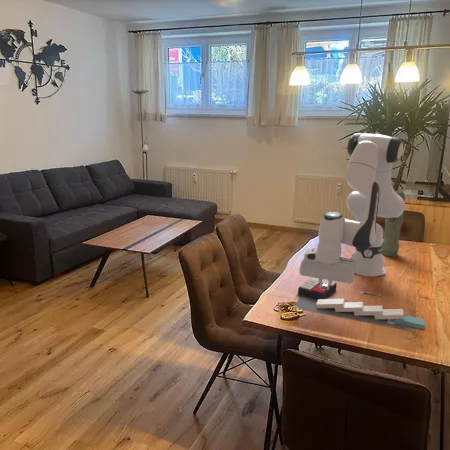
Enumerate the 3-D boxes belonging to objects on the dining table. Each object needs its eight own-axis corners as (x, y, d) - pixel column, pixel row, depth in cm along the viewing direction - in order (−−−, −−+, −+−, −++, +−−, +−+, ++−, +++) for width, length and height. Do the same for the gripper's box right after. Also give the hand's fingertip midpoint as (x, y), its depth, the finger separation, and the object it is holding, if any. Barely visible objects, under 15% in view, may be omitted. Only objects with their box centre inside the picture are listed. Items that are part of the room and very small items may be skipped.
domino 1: (316, 304, 162) (342, 303, 158) (318, 299, 166) (344, 298, 163) (316, 308, 162) (343, 307, 158) (318, 303, 167) (344, 302, 163)
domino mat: (299, 297, 173) (299, 295, 172) (410, 318, 159) (410, 316, 159) (294, 309, 162) (294, 307, 162) (412, 333, 148) (412, 330, 148)
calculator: (298, 285, 173) (313, 275, 185) (297, 295, 174) (312, 284, 186) (323, 292, 167) (337, 281, 179) (322, 302, 168) (336, 290, 180)
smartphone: (395, 308, 167) (395, 306, 167) (356, 299, 175) (356, 297, 174) (398, 302, 173) (398, 300, 173) (360, 293, 181) (360, 291, 180)
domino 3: (353, 311, 157) (382, 311, 154) (354, 306, 162) (382, 305, 158) (354, 315, 158) (382, 315, 154) (355, 309, 162) (382, 309, 158)
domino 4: (374, 315, 155) (403, 314, 151) (374, 309, 160) (403, 308, 156) (374, 319, 155) (404, 318, 151) (375, 313, 160) (403, 312, 156)
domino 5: (394, 319, 153) (424, 325, 149) (394, 313, 157) (423, 319, 154) (394, 322, 153) (424, 329, 150) (393, 317, 158) (422, 322, 154)
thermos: (398, 252, 235) (408, 191, 226) (396, 258, 225) (406, 194, 216) (381, 249, 239) (390, 189, 230) (379, 255, 229) (388, 192, 220)
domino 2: (334, 307, 160) (362, 307, 156) (336, 302, 164) (362, 301, 160) (335, 311, 160) (362, 311, 156) (336, 306, 164) (363, 305, 161)
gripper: (357, 257, 158) (353, 291, 161) (303, 249, 164) (300, 281, 168) (356, 262, 152) (351, 297, 156) (300, 253, 159) (297, 287, 162)
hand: (324, 289), depth 162 cm, fingers closed
